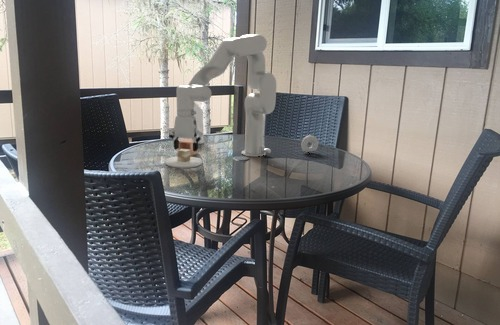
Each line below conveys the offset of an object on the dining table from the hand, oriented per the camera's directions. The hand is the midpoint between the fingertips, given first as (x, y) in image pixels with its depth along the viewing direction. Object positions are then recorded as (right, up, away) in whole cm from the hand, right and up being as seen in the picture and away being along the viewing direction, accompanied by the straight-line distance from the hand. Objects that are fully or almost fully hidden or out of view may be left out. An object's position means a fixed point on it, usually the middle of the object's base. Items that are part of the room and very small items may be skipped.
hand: (185, 149), depth 194 cm
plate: (-1, -6, 0) cm, 6 cm away
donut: (+62, -1, +32) cm, 69 cm away
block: (-1, -5, 0) cm, 5 cm away
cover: (-2, -2, +18) cm, 19 cm away
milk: (-5, +6, +49) cm, 50 cm away
